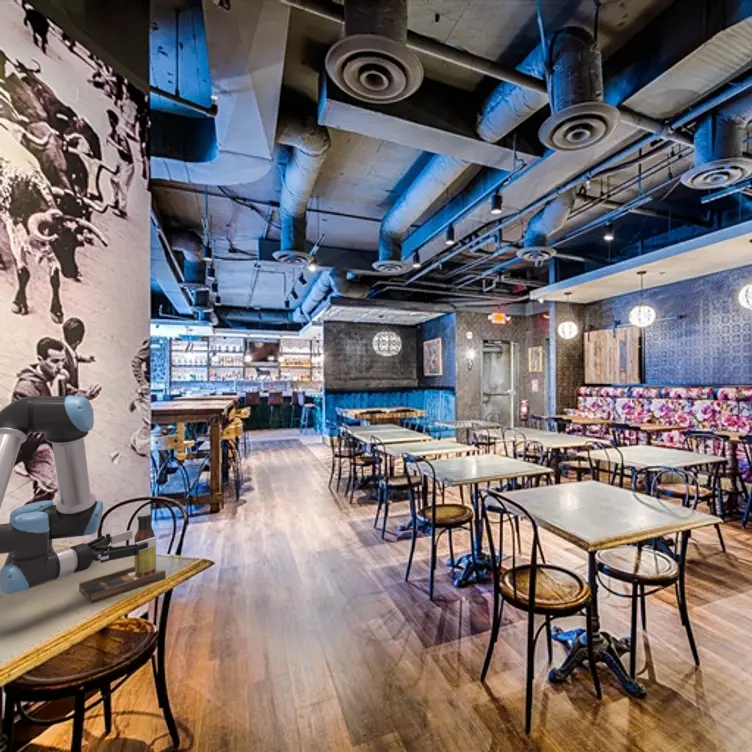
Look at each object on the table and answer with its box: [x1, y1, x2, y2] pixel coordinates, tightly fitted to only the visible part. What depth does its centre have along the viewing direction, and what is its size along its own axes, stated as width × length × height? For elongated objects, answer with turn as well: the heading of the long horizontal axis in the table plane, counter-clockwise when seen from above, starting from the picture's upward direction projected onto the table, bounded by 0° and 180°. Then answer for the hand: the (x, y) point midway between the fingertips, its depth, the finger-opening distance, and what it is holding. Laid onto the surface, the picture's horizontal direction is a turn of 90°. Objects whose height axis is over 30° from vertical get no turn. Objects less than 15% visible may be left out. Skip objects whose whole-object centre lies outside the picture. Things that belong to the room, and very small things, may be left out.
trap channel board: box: [78, 565, 166, 604], centre depth 133 cm, size 12×21×2 cm, turn 140°
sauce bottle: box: [134, 512, 157, 578], centre depth 138 cm, size 7×6×20 cm
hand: (143, 537), depth 138 cm, fingers open, 13 cm apart
